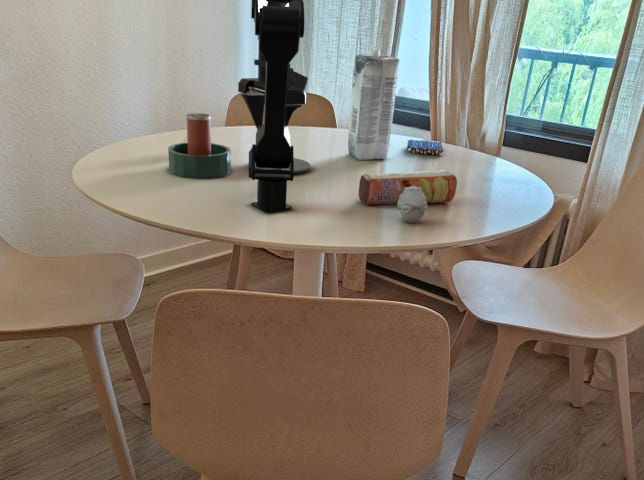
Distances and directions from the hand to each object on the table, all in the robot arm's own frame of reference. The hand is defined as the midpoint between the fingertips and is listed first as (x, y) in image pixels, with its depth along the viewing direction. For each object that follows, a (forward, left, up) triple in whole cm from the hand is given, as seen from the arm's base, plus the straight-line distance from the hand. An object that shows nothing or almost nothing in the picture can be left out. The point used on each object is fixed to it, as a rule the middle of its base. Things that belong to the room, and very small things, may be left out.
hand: (269, 132), depth 143 cm
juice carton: (+15, -42, -12) cm, 46 cm away
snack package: (-23, -22, -12) cm, 34 cm away
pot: (+19, +8, -12) cm, 24 cm away
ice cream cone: (+34, +2, -12) cm, 36 cm away
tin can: (+19, +8, -12) cm, 24 cm away
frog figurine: (-34, -13, -12) cm, 38 cm away
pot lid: (+14, -12, -11) cm, 22 cm away
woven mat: (+14, -63, -11) cm, 66 cm away
